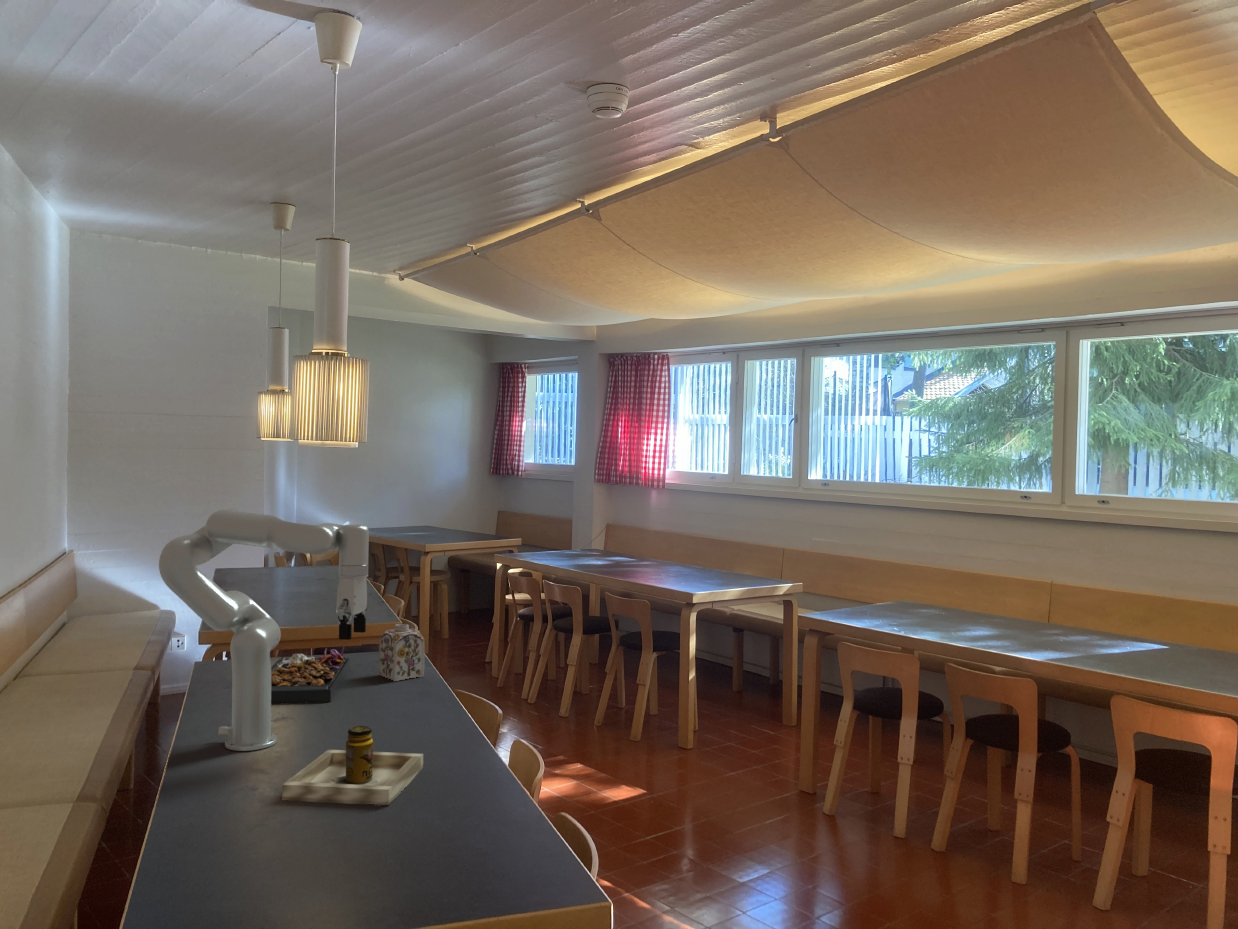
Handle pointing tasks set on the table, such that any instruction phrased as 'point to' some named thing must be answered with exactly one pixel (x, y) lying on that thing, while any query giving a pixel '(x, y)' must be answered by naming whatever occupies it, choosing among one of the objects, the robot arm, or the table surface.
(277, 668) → the food platter
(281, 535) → the robot arm
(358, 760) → the condiment
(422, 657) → the decorative jar
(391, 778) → the tray
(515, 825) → the table surface
